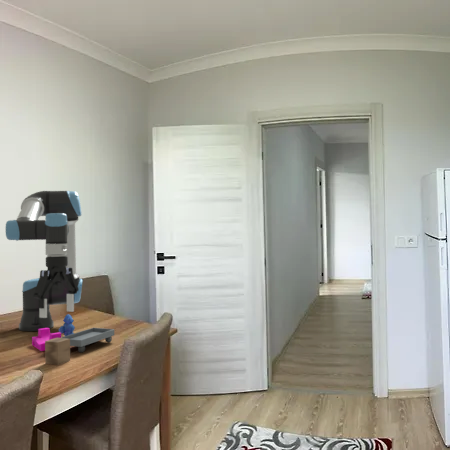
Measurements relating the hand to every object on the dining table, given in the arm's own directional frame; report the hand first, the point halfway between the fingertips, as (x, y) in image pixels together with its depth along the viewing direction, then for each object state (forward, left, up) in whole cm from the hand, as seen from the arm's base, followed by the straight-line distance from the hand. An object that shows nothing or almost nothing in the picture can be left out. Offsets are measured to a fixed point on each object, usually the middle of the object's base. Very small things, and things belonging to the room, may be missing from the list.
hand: (57, 314), depth 167 cm
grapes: (-17, +24, -17) cm, 34 cm away
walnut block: (0, 0, -17) cm, 17 cm away
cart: (-4, +21, -17) cm, 28 cm away
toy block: (-18, +13, -18) cm, 28 cm away
